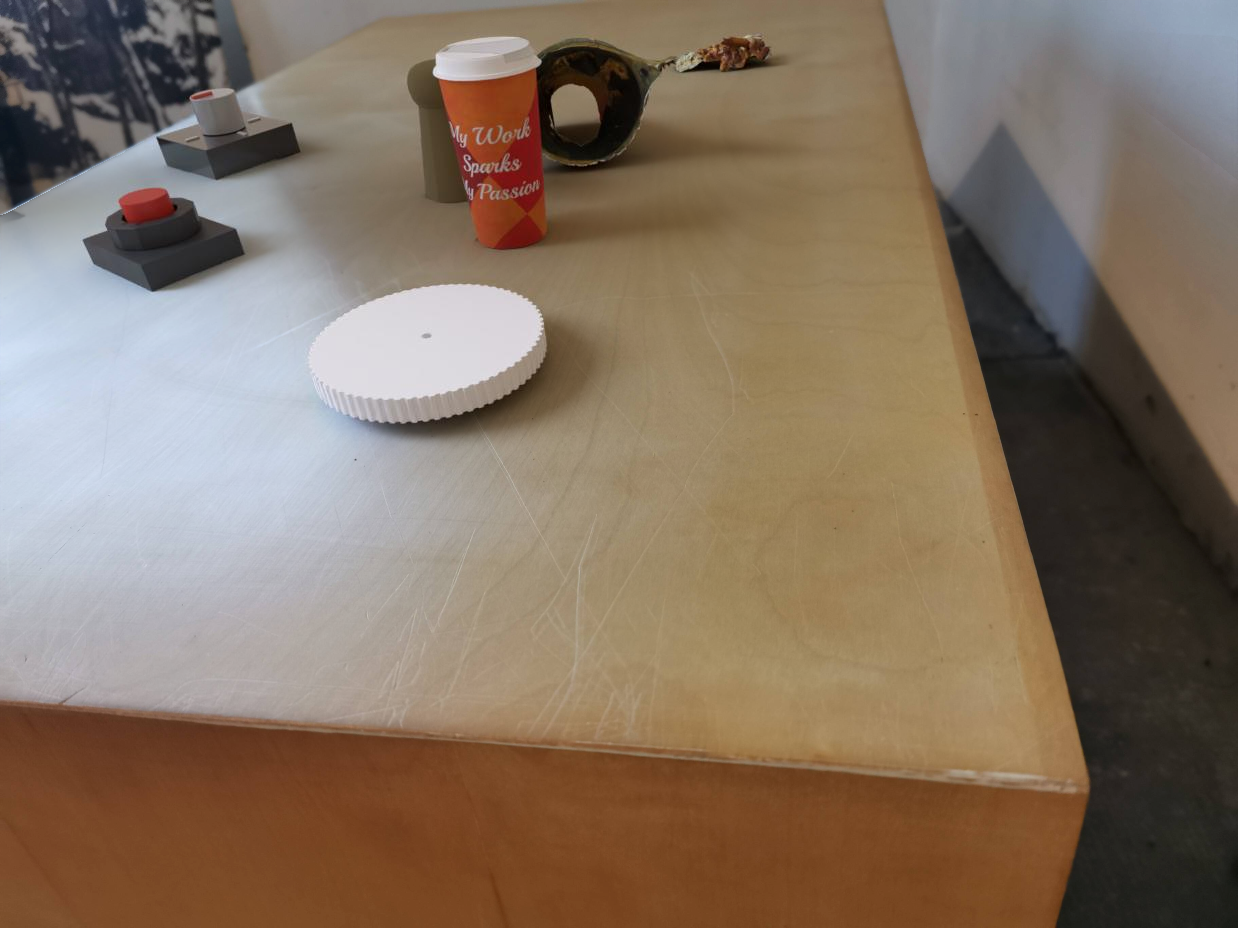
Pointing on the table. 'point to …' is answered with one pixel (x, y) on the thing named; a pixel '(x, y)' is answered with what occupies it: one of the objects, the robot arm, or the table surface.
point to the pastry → (727, 53)
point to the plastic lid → (427, 353)
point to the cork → (435, 137)
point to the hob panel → (229, 147)
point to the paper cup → (496, 136)
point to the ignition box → (163, 246)
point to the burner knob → (217, 111)
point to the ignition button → (146, 205)
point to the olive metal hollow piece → (595, 95)
